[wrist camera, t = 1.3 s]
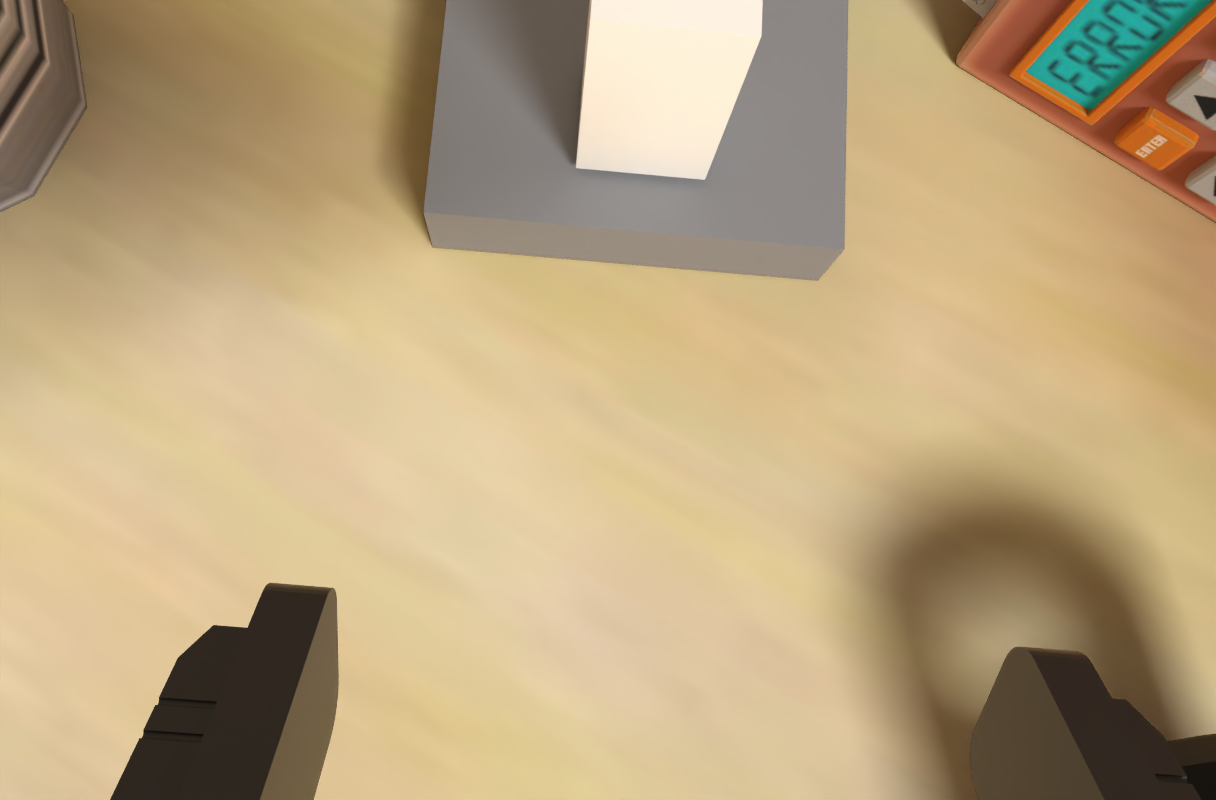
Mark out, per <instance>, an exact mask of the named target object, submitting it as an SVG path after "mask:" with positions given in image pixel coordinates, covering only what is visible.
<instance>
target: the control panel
mask: <svg viewBox="0 0 1216 800" xmlns="http://www.w3.org/2000/svg"><path fill="white" fill-rule="evenodd" d="M962 1H963V2H964V3H966V4H967V5H968V6H969V7H970V8H972V9H973V10H974V11H975V12H976V13H977V14H979V15H980V16H981V18H980V20H979V21H978V23H977V24H976V26H975V28H974V29H973V31H972V32H971V34H970V36H969V37H968V39H967V41H966V42H965V44H964V45H963V47H962V49H961V50H960V52H959V53H958V55H957V59H956V64H957V65H958V67H960V68H962V69H963V70H965V71H967V72H968V73H970V74H971V75H973V76H975V77H976V78H978V79H980V80H981V81H983V82H985V83H986V84H988V85H990V86H991V87H993V88H995V89H996V90H998V91H1000V92H1001V93H1003V94H1004V95H1006V96H1008V97H1009V98H1011V99H1013V100H1014V101H1016V102H1018V103H1019V104H1021V105H1023V106H1024V107H1026V108H1028V109H1029V110H1031V111H1033V112H1034V113H1036V114H1037V115H1039V116H1041V117H1042V118H1044V119H1046V120H1047V121H1049V122H1051V123H1052V124H1054V125H1056V126H1057V127H1059V128H1061V129H1062V130H1064V131H1066V132H1067V133H1069V134H1071V135H1072V136H1074V137H1075V138H1077V139H1079V140H1080V141H1082V142H1084V143H1085V144H1087V145H1089V146H1090V147H1092V148H1094V149H1095V150H1097V151H1099V152H1100V153H1102V154H1104V155H1105V156H1107V157H1108V158H1110V159H1112V160H1113V161H1115V162H1117V163H1118V164H1120V165H1122V166H1123V167H1125V168H1127V169H1128V170H1130V171H1132V172H1133V173H1135V174H1137V175H1138V176H1140V177H1141V178H1143V179H1145V180H1146V181H1148V182H1150V183H1151V184H1153V185H1155V186H1156V187H1158V188H1160V189H1161V190H1163V191H1165V192H1166V193H1168V194H1170V195H1171V196H1173V197H1175V198H1176V199H1178V200H1179V201H1181V202H1183V203H1184V204H1186V205H1188V206H1189V207H1191V208H1193V209H1194V210H1196V211H1198V212H1199V213H1201V214H1203V215H1204V216H1206V217H1208V218H1209V219H1211V220H1212V221H1214V222H1216V0H962Z"/></svg>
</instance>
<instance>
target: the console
mask: <svg viewBox="0 0 1216 800" xmlns="http://www.w3.org/2000/svg"><path fill="white" fill-rule="evenodd" d="M589 2H590V0H447V2H446V11H445V20H444V29H443V38H442V47H441V56H440V65H439V75H438V84H437V93H436V102H435V111H434V120H433V129H432V138H431V148H430V157H429V166H428V175H427V184H426V193H425V202H424V211H423V213H424V216H425V220H426V224H427V228H428V231H429V235H430V239H431V243H432V246H433V247H434V248H446V249H458V250H469V251H481V252H493V253H504V254H516V255H527V256H539V257H551V258H562V259H574V260H586V261H597V262H609V263H621V264H632V265H644V266H655V267H667V268H679V269H690V270H702V271H714V272H725V273H737V274H749V275H760V276H772V277H783V278H795V279H807V280H819V279H820V278H821V276H822V275H823V274H824V273H825V272H826V270H827V269H828V268H829V267H830V266H831V264H832V263H833V262H834V261H835V260H836V259H837V257H838V256H839V255H840V254H841V253H842V251H843V250H844V237H845V172H846V108H847V44H848V0H763V8H762V36H761V38H760V41H759V44H758V46H757V49H756V51H755V54H754V56H753V59H752V61H751V64H750V66H749V69H748V72H747V74H746V77H745V79H744V82H743V84H742V87H741V89H740V92H739V94H738V97H737V100H736V102H735V105H734V107H733V110H732V112H731V115H730V117H729V120H728V122H727V125H726V128H725V130H724V133H723V135H722V138H721V140H720V143H719V145H718V148H717V150H716V153H715V156H714V158H713V161H712V163H711V166H710V168H709V171H708V173H707V176H706V178H705V180H701V179H690V178H679V177H668V176H657V175H646V174H635V173H624V172H613V171H602V170H591V169H580V168H576V159H577V146H578V133H579V120H580V107H581V94H582V80H583V67H584V56H585V45H586V35H587V24H588V13H589Z"/></svg>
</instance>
